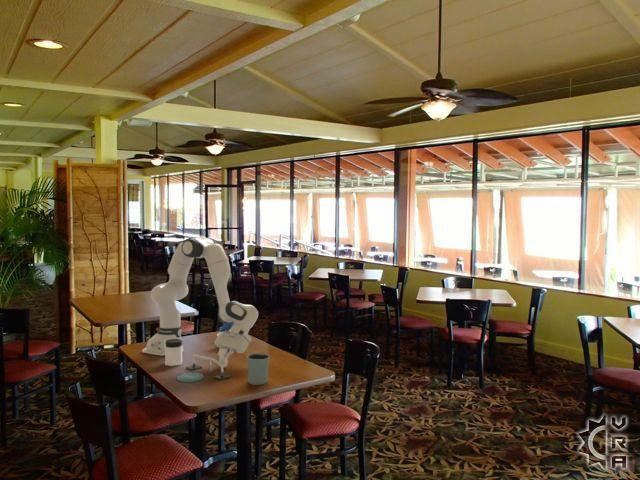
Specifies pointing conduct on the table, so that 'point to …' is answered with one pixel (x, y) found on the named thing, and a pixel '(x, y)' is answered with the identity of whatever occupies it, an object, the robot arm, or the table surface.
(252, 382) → the grey-green open cylinder
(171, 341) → the jar
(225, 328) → the grapes
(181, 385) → the table surface
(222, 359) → the salt shaker
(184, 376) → the saucer
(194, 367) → the bent bar stand
